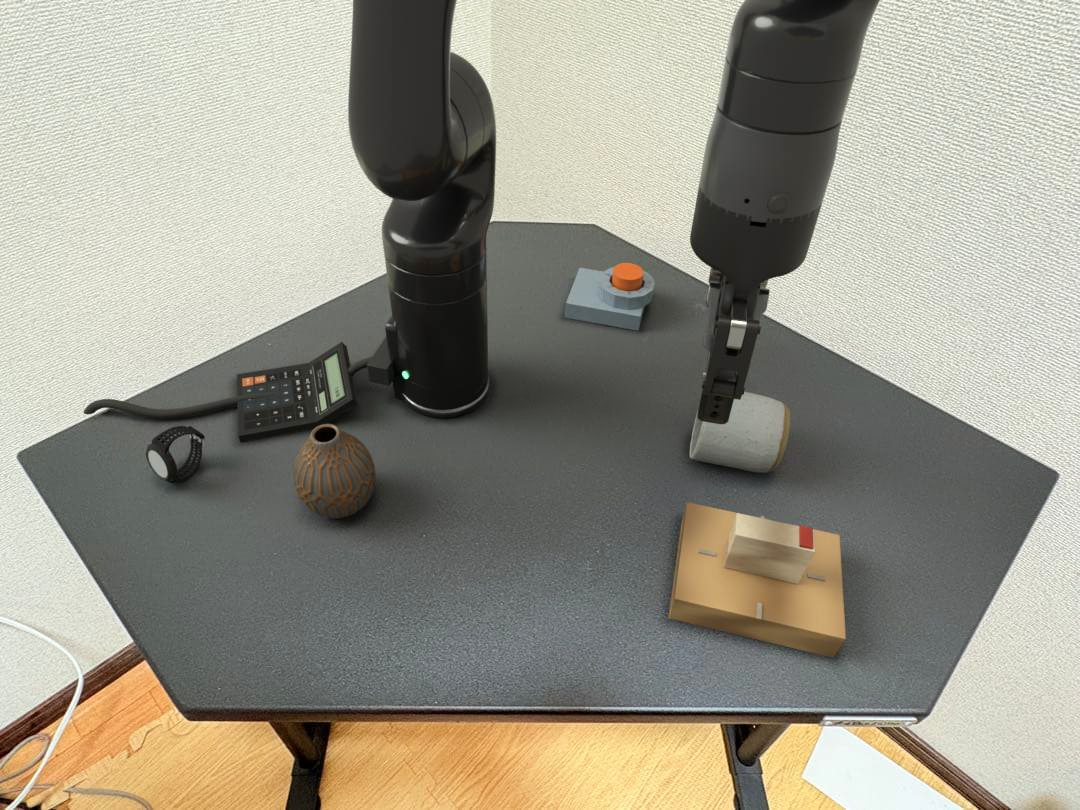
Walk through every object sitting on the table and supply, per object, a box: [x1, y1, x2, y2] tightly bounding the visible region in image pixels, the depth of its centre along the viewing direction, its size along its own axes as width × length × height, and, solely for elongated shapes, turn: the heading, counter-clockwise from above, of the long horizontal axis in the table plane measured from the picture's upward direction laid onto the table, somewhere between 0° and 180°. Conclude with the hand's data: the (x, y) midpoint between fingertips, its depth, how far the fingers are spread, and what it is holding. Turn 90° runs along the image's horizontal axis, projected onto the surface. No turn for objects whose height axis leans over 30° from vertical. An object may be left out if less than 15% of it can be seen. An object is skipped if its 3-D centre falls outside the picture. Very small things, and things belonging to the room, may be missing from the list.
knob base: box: [668, 501, 847, 659], centre depth 60 cm, size 13×10×3 cm
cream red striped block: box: [723, 512, 815, 584], centre depth 58 cm, size 6×2×5 cm, turn 76°
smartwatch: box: [145, 425, 206, 484], centre depth 66 cm, size 4×5×5 cm
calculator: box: [236, 341, 359, 443], centre depth 75 cm, size 9×12×3 cm
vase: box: [292, 423, 377, 519], centre depth 63 cm, size 7×7×9 cm
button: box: [612, 262, 644, 292], centre depth 86 cm, size 4×4×2 cm
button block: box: [564, 266, 656, 332], centre depth 88 cm, size 10×8×4 cm
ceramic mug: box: [689, 390, 791, 474], centre depth 71 cm, size 11×8×8 cm
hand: (715, 382), depth 56 cm, fingers open, 8 cm apart
